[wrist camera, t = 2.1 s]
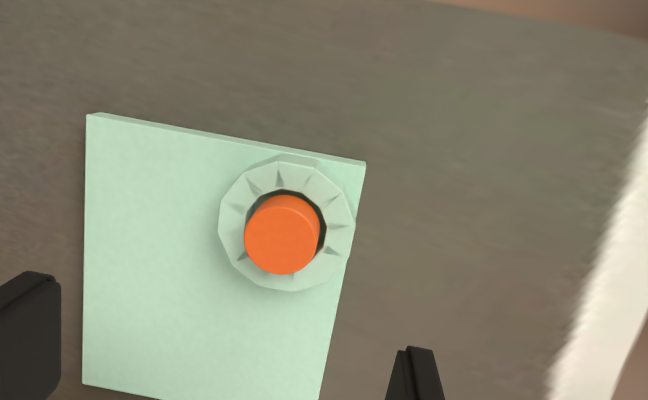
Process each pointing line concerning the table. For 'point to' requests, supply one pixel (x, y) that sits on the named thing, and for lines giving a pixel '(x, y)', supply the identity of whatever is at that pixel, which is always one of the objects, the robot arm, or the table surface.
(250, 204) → the scale
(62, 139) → the table surface
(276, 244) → the button
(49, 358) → the robot arm
